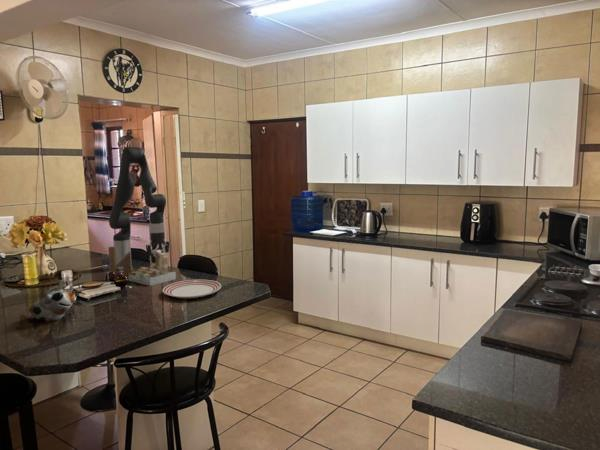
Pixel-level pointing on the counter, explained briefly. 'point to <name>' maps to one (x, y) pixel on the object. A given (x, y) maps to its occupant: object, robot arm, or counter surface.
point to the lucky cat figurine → (52, 305)
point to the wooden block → (124, 262)
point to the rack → (152, 278)
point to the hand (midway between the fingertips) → (158, 261)
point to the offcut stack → (147, 272)
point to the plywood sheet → (160, 263)
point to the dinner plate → (192, 288)
